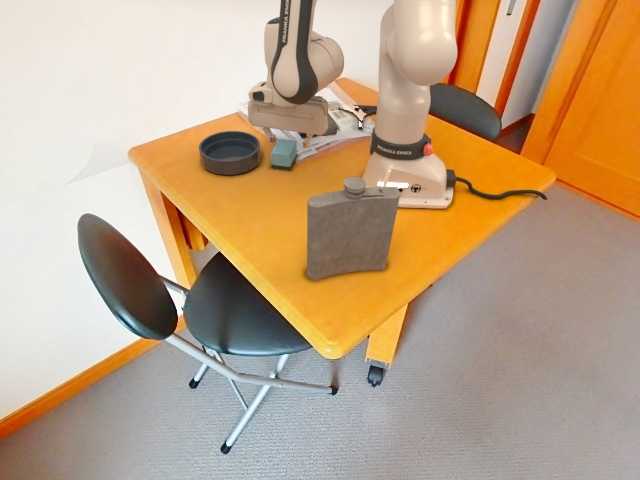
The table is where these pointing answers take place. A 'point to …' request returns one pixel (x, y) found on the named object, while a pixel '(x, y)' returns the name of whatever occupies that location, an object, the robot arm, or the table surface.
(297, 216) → the table surface
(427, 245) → the table surface
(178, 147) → the table surface
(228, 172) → the bowl
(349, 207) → the hip flask
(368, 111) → the bracket
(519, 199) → the table surface
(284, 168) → the sponge
